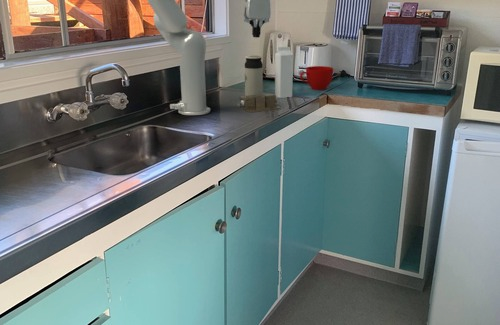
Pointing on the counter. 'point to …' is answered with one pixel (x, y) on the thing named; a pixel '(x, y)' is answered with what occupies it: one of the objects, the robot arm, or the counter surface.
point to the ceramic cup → (318, 77)
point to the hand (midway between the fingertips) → (256, 37)
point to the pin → (243, 101)
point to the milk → (283, 72)
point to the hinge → (259, 102)
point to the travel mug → (253, 75)
